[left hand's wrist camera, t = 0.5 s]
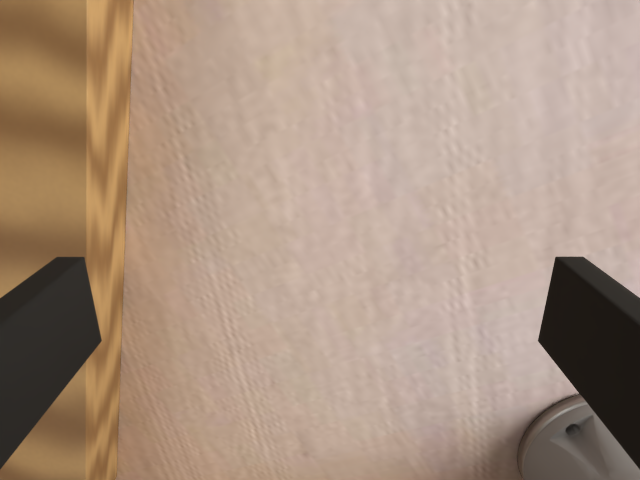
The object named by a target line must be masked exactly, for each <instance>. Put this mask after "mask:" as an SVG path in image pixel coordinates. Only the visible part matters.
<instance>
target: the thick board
mask: <svg viewBox="0 0 640 480" xmlns="http://www.w3.org/2000/svg"><path fill="white" fill-rule="evenodd" d="M132 27H133V0H0V298H1V297H3V296H4V295H5V294H7V293H8V292H9V291H11V290H12V289H13V288H15V287H16V286H18V285H19V284H20V283H22V282H23V281H24V280H26V279H27V278H29V277H30V276H31V275H33V274H34V273H35V272H37V271H38V270H39V269H41V268H42V267H44V266H45V265H46V264H48V263H49V262H50V261H52V260H53V259H55V258H56V257H84V258H85V262H86V267H87V272H88V277H89V281H90V286H91V291H92V296H93V301H94V305H95V310H96V315H97V320H98V324H99V329H100V334H101V339H102V341H101V343H100V344H99V345H98V346H97V348H96V349H95V350H94V352H93V353H92V354H91V355H90V357H89V358H88V359H87V360H86V362H85V363H84V364H83V365H82V367H81V368H80V369H79V371H78V372H77V373H76V374H75V376H74V377H73V378H72V379H71V381H70V382H69V383H68V384H67V386H66V387H65V388H64V390H63V391H62V392H61V393H60V395H59V396H58V397H57V398H56V400H55V401H54V402H53V403H52V405H51V406H50V407H49V409H48V410H47V411H46V412H45V414H44V415H43V416H42V417H41V419H40V420H39V421H38V422H37V424H36V425H35V426H34V428H33V429H32V430H31V431H30V433H29V434H28V435H27V436H26V438H25V439H24V440H23V441H22V443H21V444H20V445H19V447H18V448H17V449H16V450H15V452H14V453H13V454H12V455H11V457H10V458H9V459H8V461H7V462H6V463H5V464H4V466H3V467H2V468H1V469H0V480H115V478H116V476H117V448H118V420H119V392H120V364H121V336H122V308H123V279H124V251H125V223H126V195H127V167H128V139H129V111H130V83H131V55H132Z"/></svg>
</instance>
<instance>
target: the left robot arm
mask: <svg viewBox="0 0 640 480" xmlns="http://www.w3.org/2000/svg"><path fill="white" fill-rule="evenodd" d="M101 341H102V339H101V334H100V329H99V324H98V320H97V315H96V310H95V305H94V301H93V296H92V291H91V286H90V281H89V277H88V272H87V267H86V262H85V258H84V257H56V258H55V259H53V260H52V261H50V262H49V263H48V264H46V265H45V266H44V267H42V268H41V269H39V270H38V271H37V272H35V273H34V274H33V275H31V276H30V277H29V278H27V279H26V280H24V281H23V282H22V283H20V284H19V285H18V286H16V287H15V288H13V289H12V290H11V291H9V292H8V293H7V294H5V295H4V296H3V297H1V298H0V469H1V468H2V467H3V466H4V464H5V463H6V462H7V461H8V459H9V458H10V457H11V455H12V454H13V453H14V452H15V450H16V449H17V448H18V447H19V445H20V444H21V443H22V441H23V440H24V439H25V438H26V436H27V435H28V434H29V433H30V431H31V430H32V429H33V428H34V426H35V425H36V424H37V422H38V421H39V420H40V419H41V417H42V416H43V415H44V414H45V412H46V411H47V410H48V409H49V407H50V406H51V405H52V403H53V402H54V401H55V400H56V398H57V397H58V396H59V395H60V393H61V392H62V391H63V390H64V388H65V387H66V386H67V384H68V383H69V382H70V381H71V379H72V378H73V377H74V376H75V374H76V373H77V372H78V371H79V369H80V368H81V367H82V365H83V364H84V363H85V362H86V360H87V359H88V358H89V357H90V355H91V354H92V353H93V352H94V350H95V349H96V348H97V346H98V345H99V344H100V343H101ZM538 341H539V343H540V344H541V345H542V346H543V348H544V349H545V350H546V352H547V353H548V354H549V355H550V357H551V358H552V359H553V360H554V362H555V363H556V364H557V365H558V367H559V368H560V369H561V371H562V372H563V373H564V374H565V376H566V377H567V378H568V379H569V381H570V382H571V383H572V384H573V386H574V387H575V388H576V390H577V391H578V392H579V393H580V395H581V396H582V397H583V398H584V400H585V401H586V402H587V403H588V405H589V406H590V407H591V409H592V410H593V411H594V412H595V414H596V415H597V416H598V417H599V419H600V420H601V421H602V423H603V424H604V425H605V426H606V428H607V429H608V430H609V431H610V433H611V434H612V435H613V436H614V438H615V439H616V440H617V442H618V443H619V444H620V445H621V447H622V448H623V449H624V450H625V452H626V453H627V454H628V455H629V457H630V458H631V459H632V461H633V462H634V463H635V464H636V466H637V467H638V468H639V469H640V298H639V297H637V296H636V295H635V294H633V293H632V292H631V291H629V290H628V289H627V288H625V287H624V286H622V285H621V284H620V283H618V282H617V281H616V280H614V279H613V278H611V277H610V276H609V275H607V274H606V273H605V272H603V271H602V270H601V269H599V268H598V267H596V266H595V265H594V264H592V263H591V262H590V261H588V260H587V259H585V258H584V257H556V258H555V262H554V267H553V272H552V277H551V281H550V286H549V291H548V296H547V301H546V305H545V310H544V315H543V320H542V324H541V329H540V334H539V339H538Z"/></svg>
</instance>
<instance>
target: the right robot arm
mask: <svg viewBox="0 0 640 480" xmlns="http://www.w3.org/2000/svg"><path fill="white" fill-rule="evenodd" d="M517 461H518V467H519V471H520V473H521V476H522V478H523V480H640V469H639V468H638V467H637V466H636V464H635V463H634V462H633V461H632V459H631V458H630V457H629V455H628V454H627V453H626V452H625V450H624V449H623V448H622V447H621V445H620V444H619V443H618V442H617V440H616V439H615V438H614V436H613V435H612V434H611V433H610V431H609V430H608V429H607V428H606V426H605V425H604V424H603V423H602V421H601V420H600V419H599V417H598V416H597V415H596V414H595V412H594V411H593V410H592V409H591V407H590V406H589V405H588V403H587V402H586V401H585V400H584V398H583V397H582V396H581V395H576V396H573V397H571V398H568V399H566V400H563V401H561V402H559V403H558V404H556V405H554V406H552V407H551V408H549V409H548V410H546V411H545V412H544V413H542V414H541V415H540V416H539V417H538V418H537V419H536V420H535V421H534V422H533V423H532V424H531V425H530V427H529V428H528V429H527V431H526V432H525V434H524V436H523V438H522V440H521V443H520V445H519V449H518V456H517Z"/></svg>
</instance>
